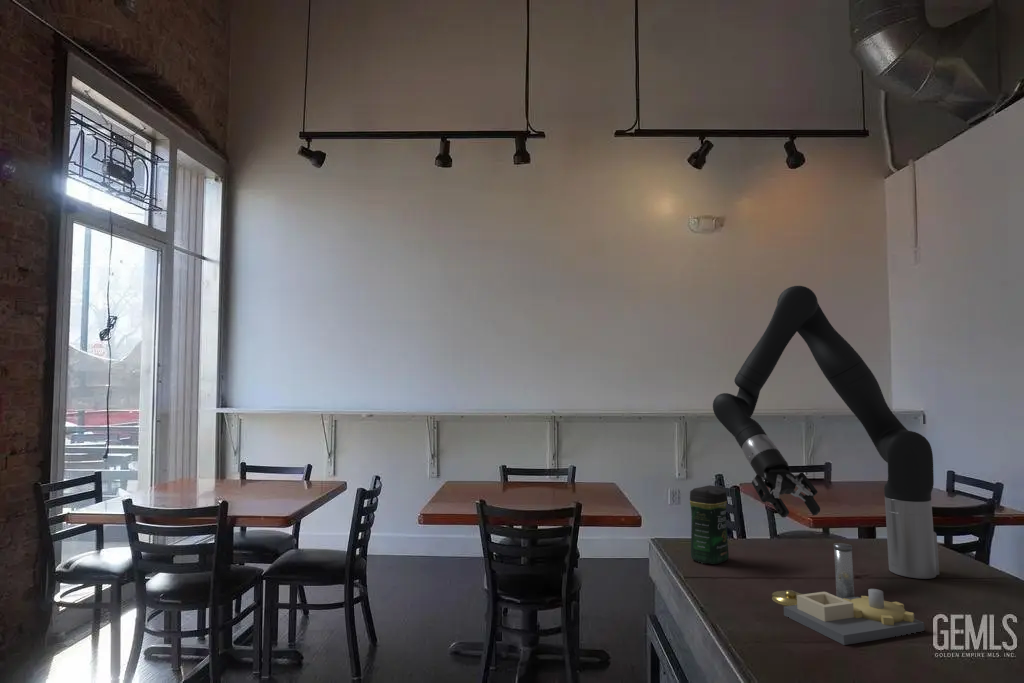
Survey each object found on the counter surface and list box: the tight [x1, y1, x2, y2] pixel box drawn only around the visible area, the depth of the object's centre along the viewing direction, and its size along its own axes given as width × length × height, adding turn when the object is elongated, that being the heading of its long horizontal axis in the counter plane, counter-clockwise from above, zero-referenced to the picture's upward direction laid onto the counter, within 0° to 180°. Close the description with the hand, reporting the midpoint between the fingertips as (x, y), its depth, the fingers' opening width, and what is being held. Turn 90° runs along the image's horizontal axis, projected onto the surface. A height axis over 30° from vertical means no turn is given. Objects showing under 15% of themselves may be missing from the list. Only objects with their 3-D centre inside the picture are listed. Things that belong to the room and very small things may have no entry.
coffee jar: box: [689, 485, 730, 565], centre depth 151 cm, size 10×8×19 cm
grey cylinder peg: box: [833, 542, 855, 599], centre depth 122 cm, size 3×3×11 cm
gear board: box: [783, 588, 925, 646], centre depth 110 cm, size 20×14×6 cm
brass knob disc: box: [771, 589, 803, 607], centre depth 121 cm, size 7×7×2 cm
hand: (801, 514), depth 133 cm, fingers open, 8 cm apart
